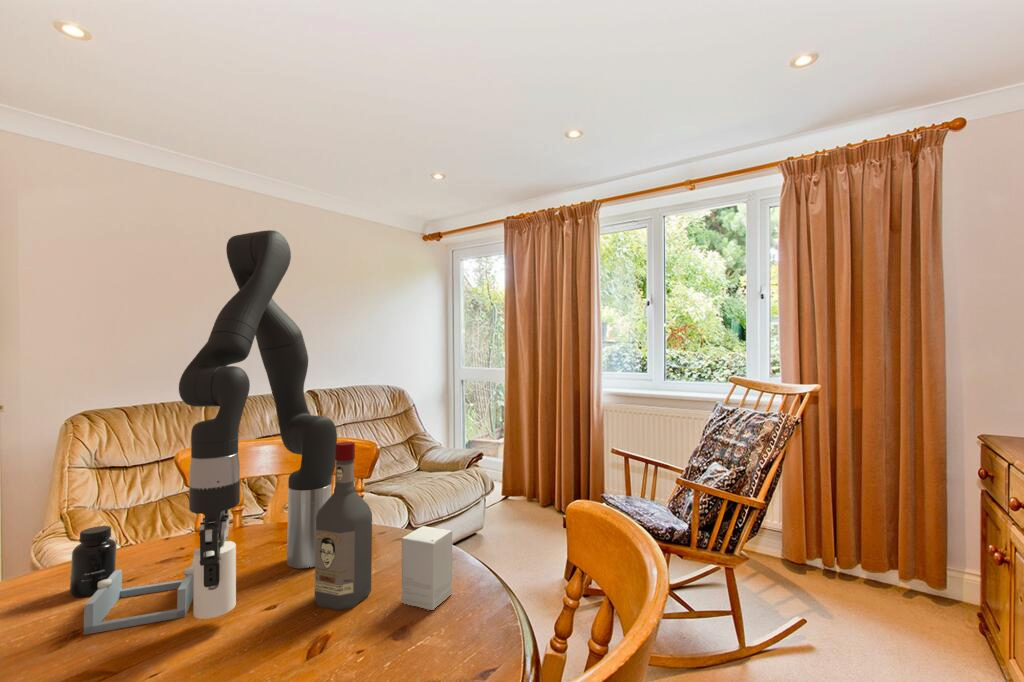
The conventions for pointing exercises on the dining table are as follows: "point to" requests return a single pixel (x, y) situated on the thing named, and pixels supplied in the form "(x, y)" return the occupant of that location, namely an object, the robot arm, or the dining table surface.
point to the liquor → (343, 540)
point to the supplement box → (426, 567)
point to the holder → (113, 591)
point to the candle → (222, 595)
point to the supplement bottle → (92, 560)
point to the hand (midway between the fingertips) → (214, 576)
